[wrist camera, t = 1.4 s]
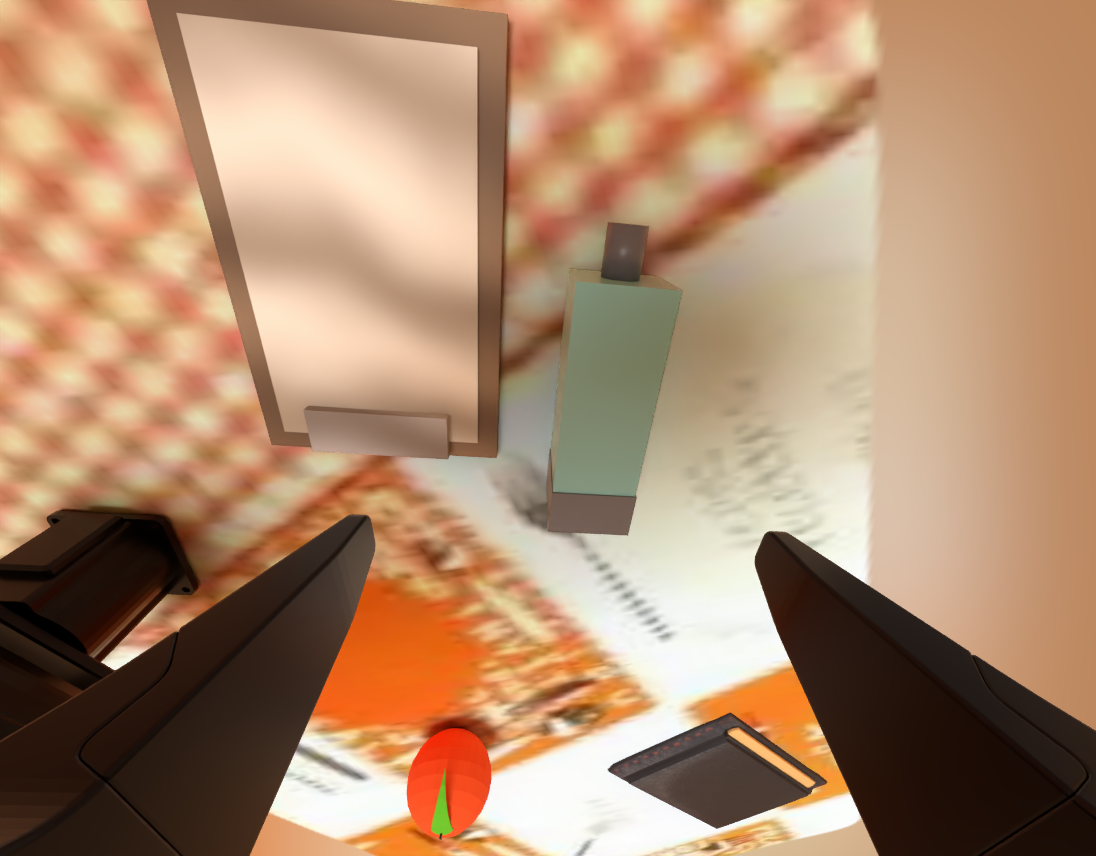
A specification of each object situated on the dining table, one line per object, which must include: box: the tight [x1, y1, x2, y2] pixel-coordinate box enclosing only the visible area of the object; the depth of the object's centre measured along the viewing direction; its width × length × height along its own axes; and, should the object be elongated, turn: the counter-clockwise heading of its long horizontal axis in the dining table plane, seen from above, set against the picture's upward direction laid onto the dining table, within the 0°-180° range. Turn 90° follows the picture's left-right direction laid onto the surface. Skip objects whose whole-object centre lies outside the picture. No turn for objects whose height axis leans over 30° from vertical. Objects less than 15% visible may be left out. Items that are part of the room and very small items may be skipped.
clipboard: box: [147, 0, 509, 459], centre depth 18 cm, size 18×12×1 cm, turn 175°
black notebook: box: [608, 713, 827, 829], centre depth 42 cm, size 20×2×15 cm
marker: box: [547, 222, 682, 535], centre depth 19 cm, size 14×4×4 cm, turn 175°
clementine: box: [407, 728, 491, 839], centre depth 34 cm, size 8×7×7 cm
